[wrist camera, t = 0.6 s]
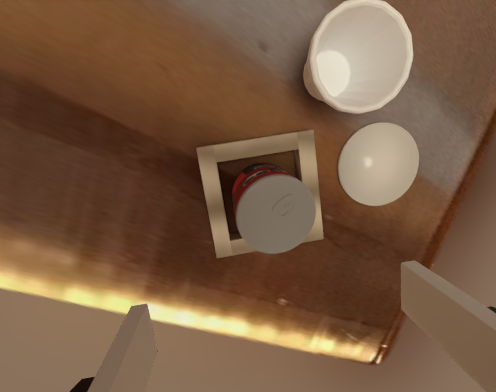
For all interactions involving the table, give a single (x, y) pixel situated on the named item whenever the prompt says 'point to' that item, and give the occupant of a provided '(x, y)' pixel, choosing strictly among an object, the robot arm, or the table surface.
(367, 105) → the cup
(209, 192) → the holder
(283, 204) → the canned food
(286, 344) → the table surface
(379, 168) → the coaster
